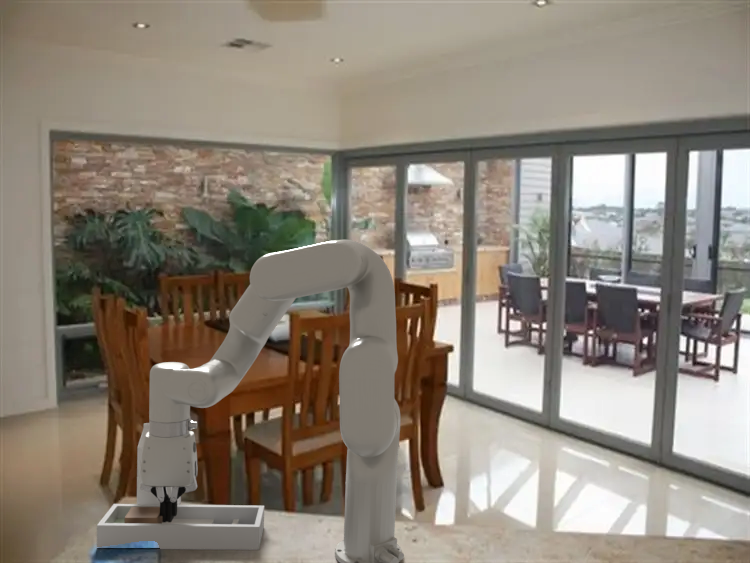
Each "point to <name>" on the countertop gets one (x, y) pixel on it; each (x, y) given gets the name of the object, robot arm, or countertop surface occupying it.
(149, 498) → the milk carton
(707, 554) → the countertop surface
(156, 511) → the block
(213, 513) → the box
